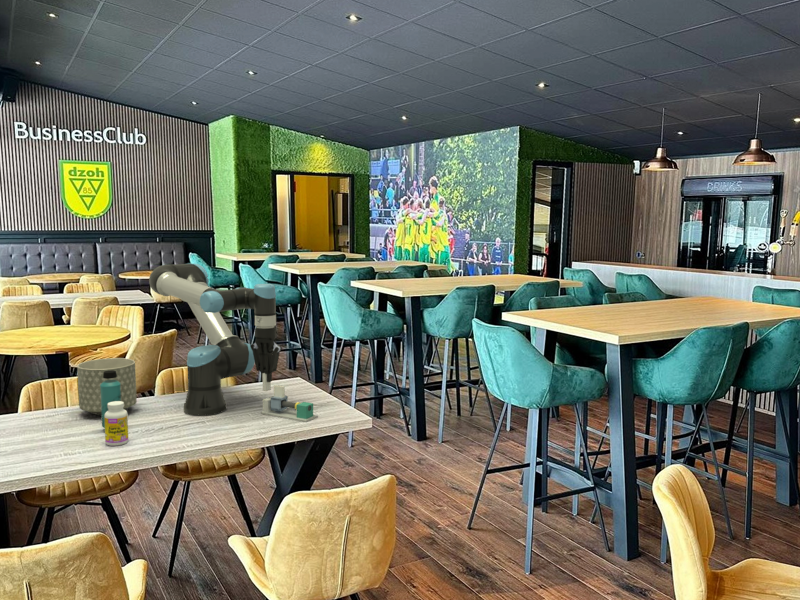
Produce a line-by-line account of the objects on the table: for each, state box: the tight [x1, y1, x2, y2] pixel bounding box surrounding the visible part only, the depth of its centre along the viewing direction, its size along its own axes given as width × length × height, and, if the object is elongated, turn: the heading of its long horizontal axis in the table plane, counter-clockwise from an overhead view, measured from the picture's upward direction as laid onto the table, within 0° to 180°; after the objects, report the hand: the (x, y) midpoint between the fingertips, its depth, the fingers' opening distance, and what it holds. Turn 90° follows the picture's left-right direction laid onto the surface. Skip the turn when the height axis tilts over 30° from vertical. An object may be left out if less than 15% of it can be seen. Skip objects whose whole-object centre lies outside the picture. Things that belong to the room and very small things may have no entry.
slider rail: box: [260, 395, 319, 423], centre depth 235 cm, size 20×7×5 cm, turn 62°
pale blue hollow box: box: [270, 384, 289, 411], centre depth 236 cm, size 4×5×9 cm
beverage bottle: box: [100, 370, 121, 429], centre depth 216 cm, size 6×7×20 cm
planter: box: [76, 357, 137, 416], centre depth 236 cm, size 19×19×18 cm
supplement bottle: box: [104, 401, 129, 447], centre depth 204 cm, size 7×7×13 cm
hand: (266, 390), depth 239 cm, fingers closed
